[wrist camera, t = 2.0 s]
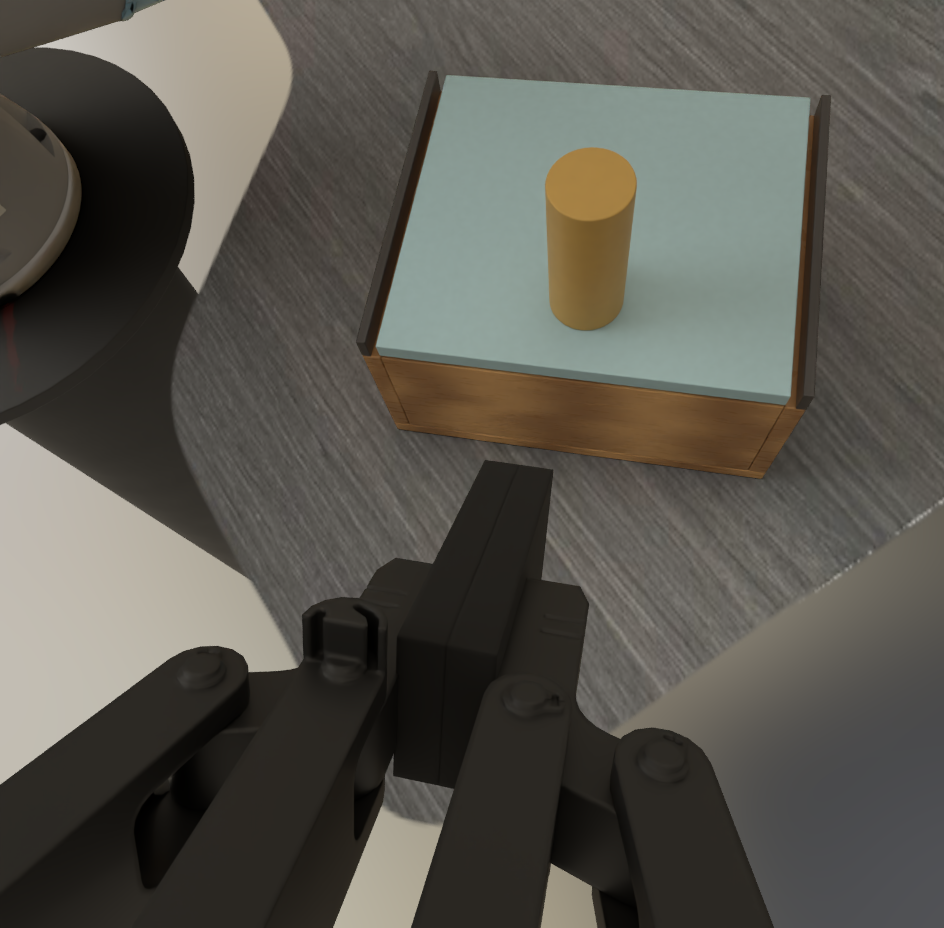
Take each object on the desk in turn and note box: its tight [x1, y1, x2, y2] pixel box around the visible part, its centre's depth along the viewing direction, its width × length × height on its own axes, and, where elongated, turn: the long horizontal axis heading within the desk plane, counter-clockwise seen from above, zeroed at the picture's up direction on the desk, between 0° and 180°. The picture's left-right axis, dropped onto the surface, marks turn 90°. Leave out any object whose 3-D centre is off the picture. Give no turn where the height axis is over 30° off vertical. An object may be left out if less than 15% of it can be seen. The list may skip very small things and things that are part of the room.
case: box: [356, 71, 831, 479], centre depth 39 cm, size 18×15×9 cm
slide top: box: [376, 75, 810, 405], centre depth 32 cm, size 16×15×8 cm
